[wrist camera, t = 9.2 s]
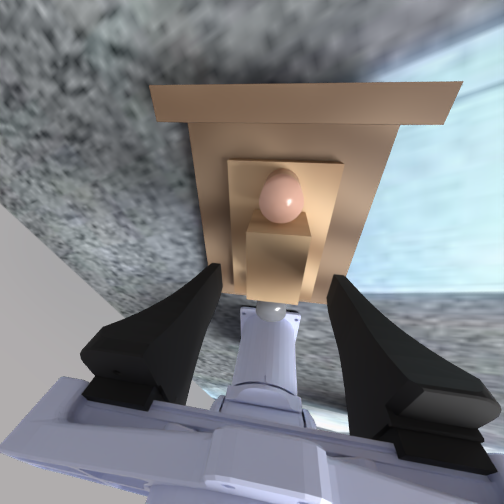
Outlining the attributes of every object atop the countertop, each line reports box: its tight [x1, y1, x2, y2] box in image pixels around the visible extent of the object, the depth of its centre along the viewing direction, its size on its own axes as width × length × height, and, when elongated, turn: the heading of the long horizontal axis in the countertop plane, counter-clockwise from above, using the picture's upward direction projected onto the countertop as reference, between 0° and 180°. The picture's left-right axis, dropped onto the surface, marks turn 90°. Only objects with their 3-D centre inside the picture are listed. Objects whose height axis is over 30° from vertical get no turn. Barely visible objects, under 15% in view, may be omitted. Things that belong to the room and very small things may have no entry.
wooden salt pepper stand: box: [227, 158, 345, 322], centre depth 16 cm, size 13×8×5 cm, turn 179°
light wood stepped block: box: [149, 81, 463, 304], centre depth 16 cm, size 18×14×6 cm
